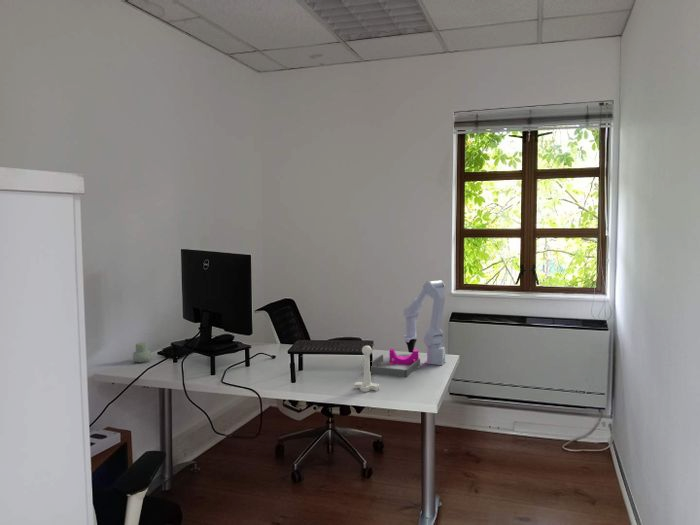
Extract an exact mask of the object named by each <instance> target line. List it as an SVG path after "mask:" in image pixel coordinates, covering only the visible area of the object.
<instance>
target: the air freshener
mask: <svg viewBox="0 0 700 525" xmlns="http://www.w3.org/2000/svg"><path fill="white" fill-rule="evenodd" d="M151 356H152V353H151V351H150V350H149V349H148V343H147V342H138V343H135V351H134V352H133V354H132V361H133V362H135V363H147V362H148V361H151V359H152V358H151Z"/></svg>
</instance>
